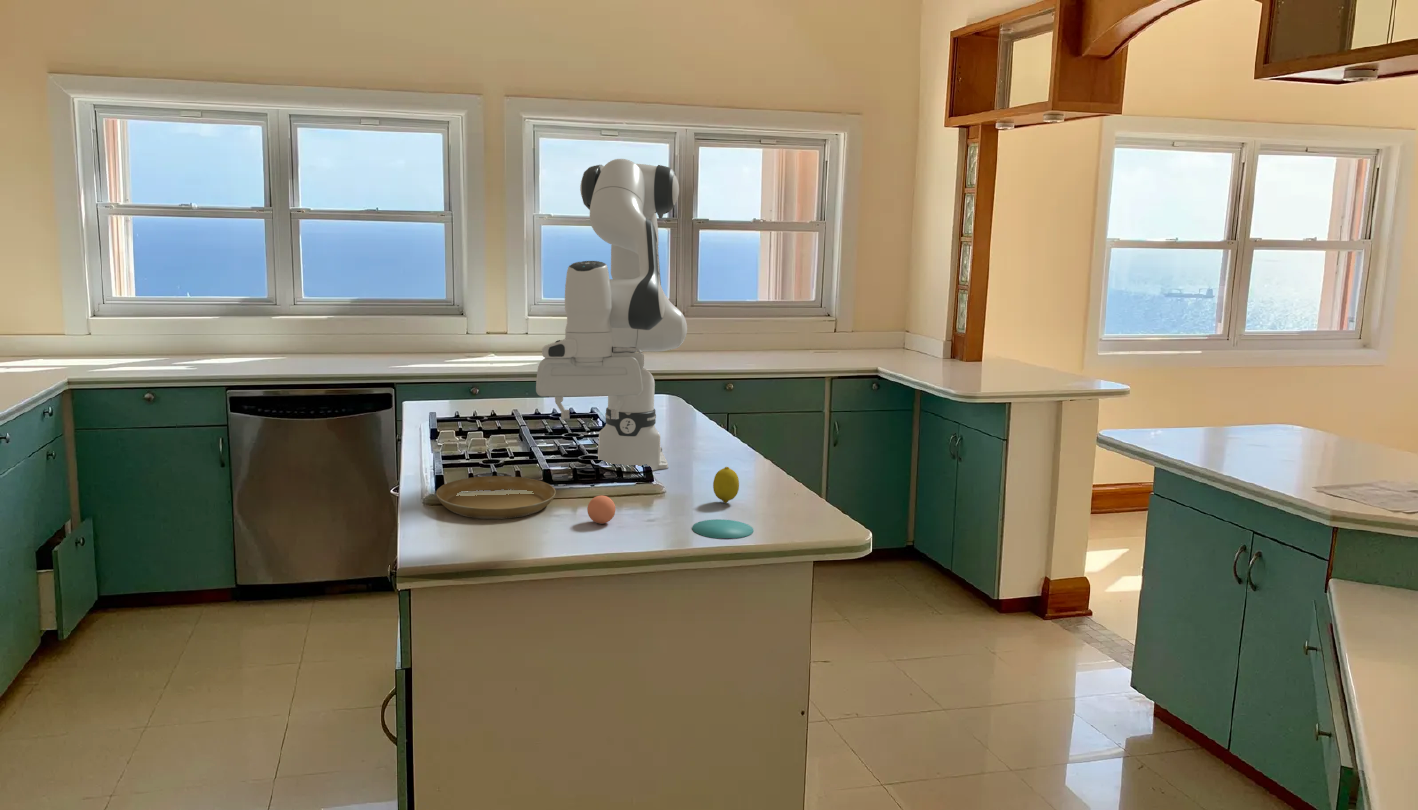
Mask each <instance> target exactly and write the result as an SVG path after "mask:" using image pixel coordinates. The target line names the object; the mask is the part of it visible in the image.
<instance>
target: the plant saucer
mask: <svg viewBox="0 0 1418 810" xmlns="http://www.w3.org/2000/svg"><path fill="white" fill-rule="evenodd" d="M501 489H504V490H508V489H509V490H510V489H512V490H513V489H514V490H527V491H533V492H532V493H534V494H520V493H519V494H509V495H508V494H506V495H477V496H476V495H475V496H460V495H459V496H456V495H457V493H459V492H461V491H476V490H478V491H479V490H483V491H484V490H491V491H494V490H501ZM556 491H557V490H556V488H555V487H554V486H553V485H552V484H550V483H547V482H545V481H542V480H540V479H539V480H538V479H534V478H528V477H523V476H522V477H521V476H509V475H489V476H486V475H485V476H474V477H466V478H462V479H457V480H452V481H450V482H447V483H444V484H442V485H441V486H440V487H438V488H437V489H436V491H435V493H436V494H435V495H436V497H437V499H438V501H439V502H440V503H441V505H442V506H443V507H445V508H446V509H447V510H449V511H450V512H453V513H454V514H456V515H460V516H464V517H468V518H475V519H486V520H488V519H490V520H491V519H492V520H495V519H496V520H500V519H513V518H514V519H515V518H522V517H525V516H529V515H533V514H536V513H538V512H540V511H542V510H543V509H545V508H546V507H547V506H549V504H550V503H552V501H553V500H554V498H555V496H556Z"/></svg>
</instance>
